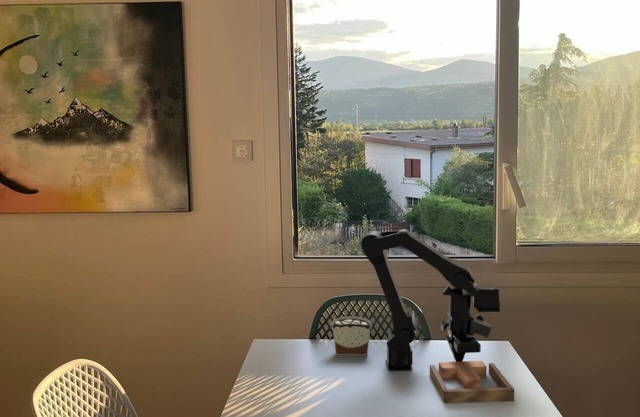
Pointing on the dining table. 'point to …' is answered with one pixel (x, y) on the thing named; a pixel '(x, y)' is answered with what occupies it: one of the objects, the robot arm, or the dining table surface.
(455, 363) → the terracotta T block
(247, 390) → the dining table surface
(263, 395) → the dining table surface
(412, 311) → the robot arm
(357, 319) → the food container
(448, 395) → the walnut bay
